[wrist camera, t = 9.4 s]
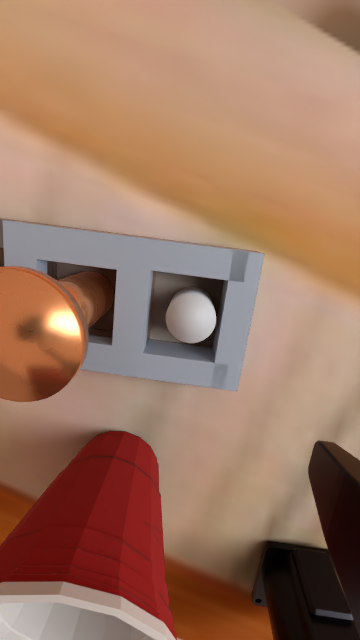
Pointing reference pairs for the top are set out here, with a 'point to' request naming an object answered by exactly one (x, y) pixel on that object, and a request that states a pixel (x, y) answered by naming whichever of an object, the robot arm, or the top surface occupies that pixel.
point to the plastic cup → (90, 552)
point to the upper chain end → (135, 293)
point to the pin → (46, 329)
